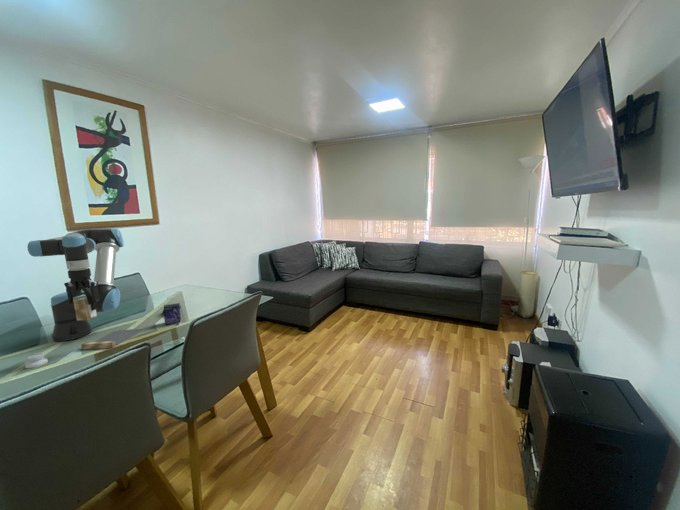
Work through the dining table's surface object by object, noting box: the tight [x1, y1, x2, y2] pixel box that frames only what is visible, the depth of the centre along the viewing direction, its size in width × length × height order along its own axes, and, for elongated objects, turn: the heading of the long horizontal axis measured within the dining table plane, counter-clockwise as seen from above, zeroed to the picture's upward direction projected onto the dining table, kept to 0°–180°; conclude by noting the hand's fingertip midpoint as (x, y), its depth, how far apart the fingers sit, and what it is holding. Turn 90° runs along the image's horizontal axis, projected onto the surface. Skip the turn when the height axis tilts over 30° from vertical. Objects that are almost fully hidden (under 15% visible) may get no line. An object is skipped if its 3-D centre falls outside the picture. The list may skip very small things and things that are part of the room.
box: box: [163, 302, 182, 326], centre depth 157 cm, size 8×6×11 cm
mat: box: [94, 328, 143, 346], centre depth 139 cm, size 14×18×1 cm
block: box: [73, 295, 98, 321], centre depth 126 cm, size 5×5×11 cm
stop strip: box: [80, 341, 117, 350], centre depth 128 cm, size 14×2×2 cm, turn 93°
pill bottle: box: [24, 352, 49, 370], centre depth 114 cm, size 6×6×12 cm
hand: (87, 316), depth 127 cm, fingers closed on block, 5 cm apart
